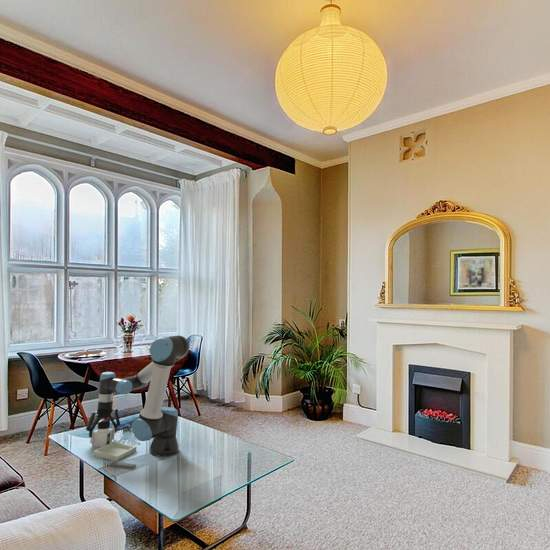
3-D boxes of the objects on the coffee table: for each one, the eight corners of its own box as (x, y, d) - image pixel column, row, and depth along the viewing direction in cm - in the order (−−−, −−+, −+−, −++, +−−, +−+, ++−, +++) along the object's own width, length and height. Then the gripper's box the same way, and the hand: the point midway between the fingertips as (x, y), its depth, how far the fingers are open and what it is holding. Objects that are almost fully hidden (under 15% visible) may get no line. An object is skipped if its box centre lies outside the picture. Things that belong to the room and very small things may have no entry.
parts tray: (136, 451, 220) (136, 446, 220) (116, 461, 206) (117, 456, 206) (113, 445, 225) (113, 441, 225) (93, 455, 211) (93, 450, 211)
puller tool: (135, 467, 201) (136, 464, 201) (133, 469, 199) (133, 466, 199) (112, 464, 202) (112, 461, 202) (109, 466, 200) (110, 463, 200)
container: (112, 442, 229) (114, 419, 230) (105, 447, 222) (107, 423, 222) (99, 441, 230) (101, 417, 231) (91, 446, 222) (93, 422, 223)
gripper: (123, 396, 237) (120, 435, 236) (81, 401, 222) (78, 442, 221) (128, 399, 231) (125, 439, 231) (85, 405, 216) (82, 447, 216)
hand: (102, 440), depth 226 cm, fingers closed on container, 10 cm apart
